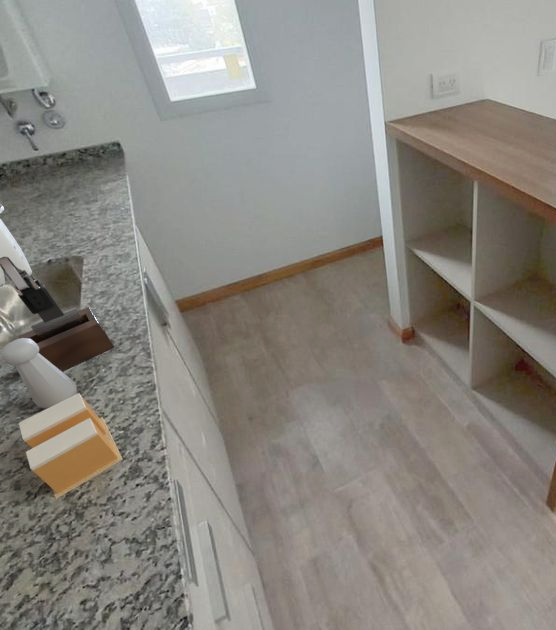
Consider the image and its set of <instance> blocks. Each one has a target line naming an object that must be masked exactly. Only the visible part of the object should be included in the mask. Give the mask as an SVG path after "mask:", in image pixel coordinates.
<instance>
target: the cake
mask: <svg viewBox="0 0 556 630" xmlns="http://www.w3.org/2000/svg"><path fill="white" fill-rule="evenodd" d="M88 418H90V419H91V420H92V421H93V423H94V424H95V425H96V426H97V427H98V429H99V430H100V431H101V432H102V433H103V434H104V436H105V437H106V438H107V439H108V440H109V442H110V443H111V445H112V447H113V449H114V451H115V453H116V455H117V457H118V458H117V459H115V460H113V461H112V462H110V463H108V464H106V465H105V466H103V467H101V468H100V469H98V470H96V471H95V472H93V473H91V474H90V475H88V476H86V477H85V478H83V479H81V480H80V481H78V482H76V483H75V484H73V485H71V486H70V487H68V488H66V489H65V490H63V491H61V492H60V493H56V492H55V491H54V490H53V489H52V492H53V495H54V498H55V500H58V499H59V498H61V497H62V496H64V495H66V494H67V493H69V492H71V491H72V490H74V489H76V488H77V487H79V486H81V485H82V484H84V483H86V482H87V481H89V480H91V479H92V478H95V477H96V476H98V475H99V474H101V473H103V472H105V471H106V470H108V469H109V468H111V467H112V466H114V465H116V464H118V463H119V462H121V461H123V456H122V455H121V453H120V451H119V449H118V446H117V444H116V442H115V440H114V438H113V436H112V433H111V432H110V431H111V430H110V429H109V428H108V425H107V424H106V421H105V418H104V416H101V417H99V415H98V414H97V413H96V411H94V409H93V408H92V407H91V406H90V404H89V403H88V402H87V401H86V399H85V398H84V396H82V395H81V394H80V392H77V394H76V395H74V396H72V397H70V398H68V399H66V400H64V401H62V402H60V403H58V404H56V405H54V406H52V407H50V408H48V409H43V410H41V411H40V412H37V413H35V414H33V415H32V416H29V417H27V418H25V419H24V420H22V421H20V422H18V427H19V430H20V434H21V438H22V441H23V442H25V443H26V444H27V445H28V446H29V447H30V449H32V448H34V447H36V446H38V445H40V444H42V443H43V442H45V441H47V440H49V439H51V438H53V437H55V436H56V435H58V434H60V433H62V432H64V431H66V430H68V429H70V428H71V427H73V426H75V425H77V424H79V423H81V422H83V421H84V420H86V419H88Z"/></svg>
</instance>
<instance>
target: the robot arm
mask: <svg viewBox="0 0 556 630" xmlns="http://www.w3.org/2000/svg"><path fill="white" fill-rule="evenodd" d="M4 210H5V207H4V206H3V205H2V202H0V214H2V213H3V211H4ZM6 281H7V282H8V283H9V284H10V286H11V287H12V288H13V289H14V291H15V292H16V293H17V296H18V298H19V299H20V300H21V301H22V303H23V304H24V306H26V307H27V309H28V310H29V311H30V313H31V314H33V315H38V313H39V312H42V311H44V310H47V309H49V308H52V307H53V306H54V304H53V302H52V301H51V300H50V298H49V297H48V296H47V294H46V293H45V292H44V290H43V289H42V288H41V286H40V287H38V285H39V284H41V282H40V281H39V280H38V279H36V278H35V276H34V275H33V270H32V268H31V266H30V263H29V261H28V260H27V257H26V255H25V254H24V252H23V249H22V248H21V247H20V244H18V242H17V240H16V239H15V237H14V236H13V234H12V233H11V232H10V230H9V228H8V227H7V226H6V224H5V223H4V221H3V220H2V219H1V218H0V288H1V287H3V286H4V285H5V284H6Z"/></svg>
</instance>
